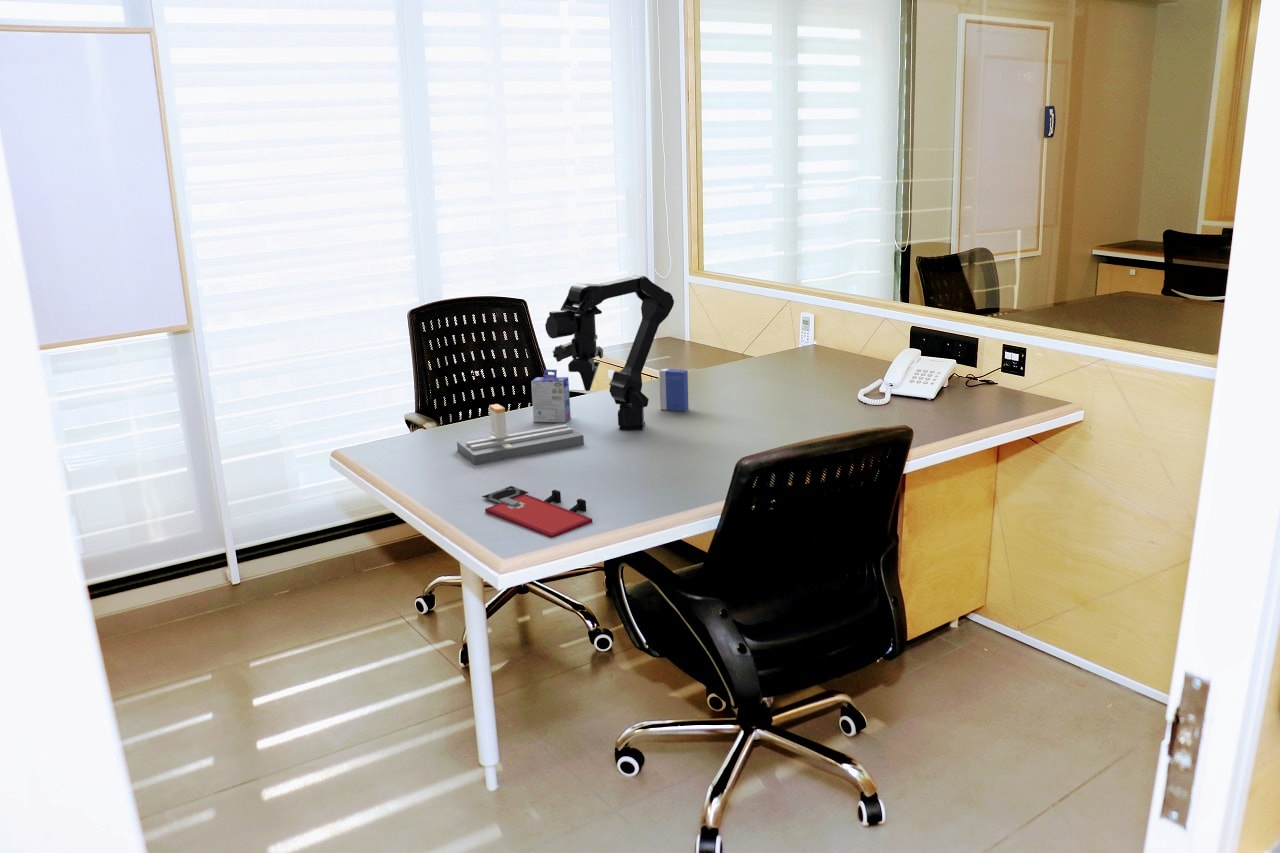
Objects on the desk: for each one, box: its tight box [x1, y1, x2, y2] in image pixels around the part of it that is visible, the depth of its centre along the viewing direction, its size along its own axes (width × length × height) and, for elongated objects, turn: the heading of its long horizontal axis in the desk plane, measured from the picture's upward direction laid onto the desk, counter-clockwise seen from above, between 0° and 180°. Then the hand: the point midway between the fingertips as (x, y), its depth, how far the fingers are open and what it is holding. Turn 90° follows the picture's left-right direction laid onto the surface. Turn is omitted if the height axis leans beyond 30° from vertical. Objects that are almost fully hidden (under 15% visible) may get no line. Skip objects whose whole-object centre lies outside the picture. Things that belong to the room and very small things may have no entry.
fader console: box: [456, 422, 585, 465], centre depth 272 cm, size 30×14×3 cm, turn 118°
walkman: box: [658, 368, 690, 412], centre depth 301 cm, size 8×3×12 cm, turn 63°
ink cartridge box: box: [530, 368, 572, 423], centre depth 295 cm, size 10×6×14 cm, turn 78°
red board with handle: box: [481, 485, 593, 539], centre depth 227 cm, size 30×3×15 cm
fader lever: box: [488, 403, 508, 441], centre depth 268 cm, size 3×6×9 cm, turn 28°
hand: (587, 390), depth 275 cm, fingers closed
